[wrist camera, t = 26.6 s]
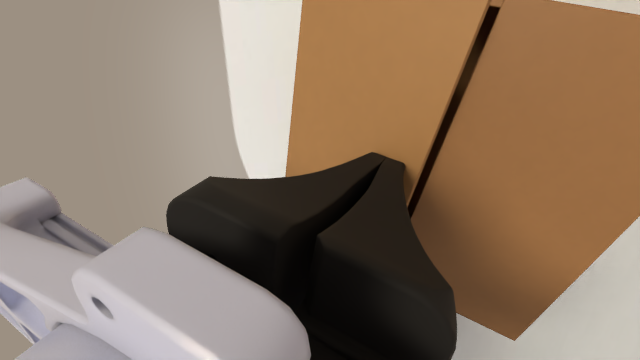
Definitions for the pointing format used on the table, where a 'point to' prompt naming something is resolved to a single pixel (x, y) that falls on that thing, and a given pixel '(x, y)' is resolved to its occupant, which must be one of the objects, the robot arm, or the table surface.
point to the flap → (377, 79)
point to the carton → (533, 159)
